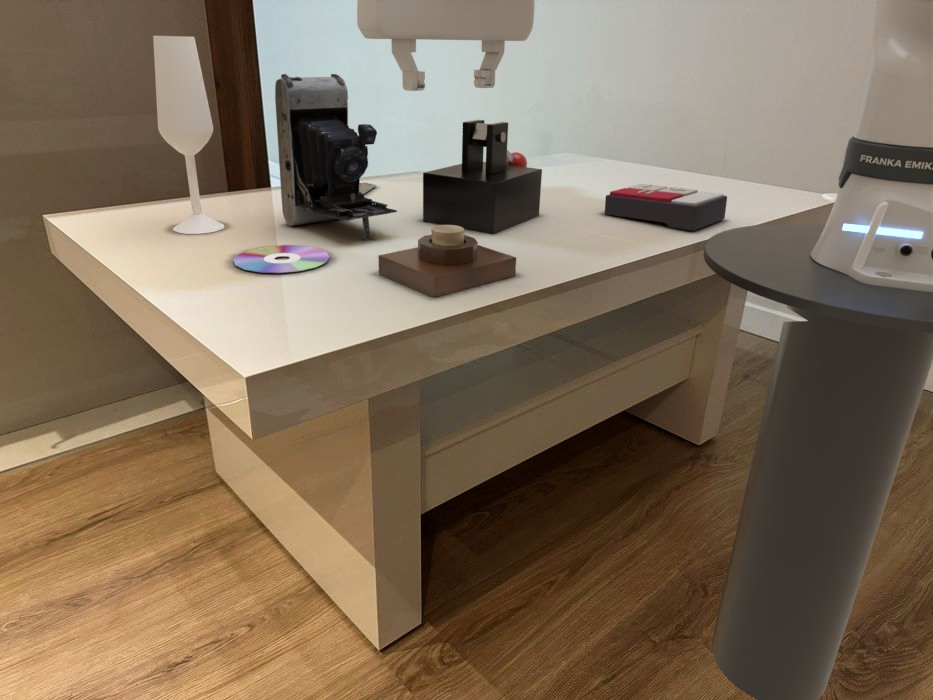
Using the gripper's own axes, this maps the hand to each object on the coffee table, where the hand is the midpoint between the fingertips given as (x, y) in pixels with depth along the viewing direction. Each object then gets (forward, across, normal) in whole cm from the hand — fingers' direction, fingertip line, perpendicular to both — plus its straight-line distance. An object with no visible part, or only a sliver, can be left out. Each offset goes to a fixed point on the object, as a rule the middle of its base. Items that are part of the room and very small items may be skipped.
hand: (450, 89), depth 73 cm
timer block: (+20, 0, 0) cm, 20 cm away
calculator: (+20, +45, +2) cm, 49 cm away
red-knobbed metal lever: (+12, +25, +19) cm, 34 cm away
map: (+20, +13, +42) cm, 48 cm away
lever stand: (+20, +21, +18) cm, 34 cm away
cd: (+20, -13, +16) cm, 28 cm away
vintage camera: (+20, 0, +24) cm, 31 cm away
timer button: (+16, 0, 0) cm, 16 cm away
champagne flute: (+20, -15, +36) cm, 44 cm away
